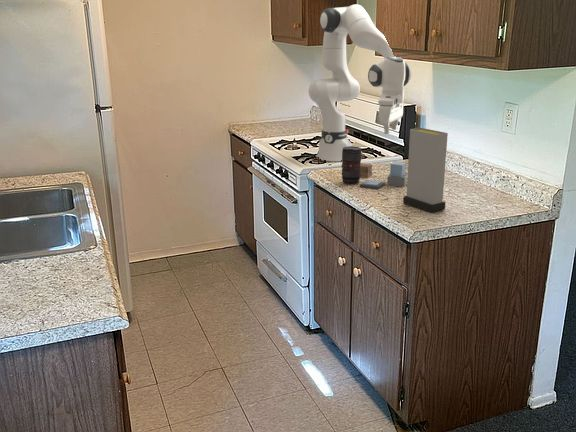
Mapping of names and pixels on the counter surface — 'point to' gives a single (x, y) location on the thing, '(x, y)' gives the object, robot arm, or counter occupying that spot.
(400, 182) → the riser block
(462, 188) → the counter surface
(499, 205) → the counter surface
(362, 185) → the tile
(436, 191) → the container
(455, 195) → the counter surface
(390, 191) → the counter surface
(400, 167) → the slate blue cube
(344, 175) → the camera lens
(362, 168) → the walnut cube
